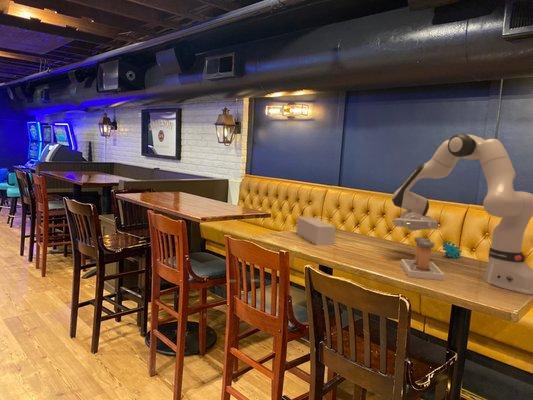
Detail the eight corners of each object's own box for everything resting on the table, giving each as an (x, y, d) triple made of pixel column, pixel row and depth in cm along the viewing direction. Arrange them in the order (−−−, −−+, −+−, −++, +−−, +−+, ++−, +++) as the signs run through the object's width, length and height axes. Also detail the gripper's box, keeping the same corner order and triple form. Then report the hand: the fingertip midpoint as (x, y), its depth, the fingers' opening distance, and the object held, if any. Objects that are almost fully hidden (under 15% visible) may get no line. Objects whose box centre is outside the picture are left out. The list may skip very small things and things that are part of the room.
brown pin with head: (430, 270, 179) (433, 240, 178) (420, 272, 176) (423, 241, 174) (418, 266, 185) (421, 236, 183) (408, 268, 182) (411, 237, 180)
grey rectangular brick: (334, 245, 225) (335, 226, 224) (316, 245, 222) (317, 226, 221) (312, 233, 255) (313, 217, 254) (296, 233, 252) (297, 216, 251)
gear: (446, 255, 207) (441, 239, 213) (440, 261, 212) (435, 245, 218) (465, 259, 209) (460, 242, 215) (458, 264, 213) (453, 248, 220)
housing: (400, 266, 188) (401, 259, 187) (432, 269, 186) (432, 262, 185) (408, 279, 168) (409, 271, 168) (443, 282, 166) (444, 274, 166)
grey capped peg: (434, 275, 172) (437, 243, 170) (424, 277, 169) (427, 244, 167) (421, 271, 178) (424, 240, 176) (411, 273, 174) (414, 241, 173)
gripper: (391, 214, 205) (395, 217, 191) (434, 216, 202) (441, 220, 188) (390, 226, 205) (395, 230, 192) (433, 229, 202) (440, 233, 188)
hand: (418, 225), depth 190 cm, fingers open, 8 cm apart
